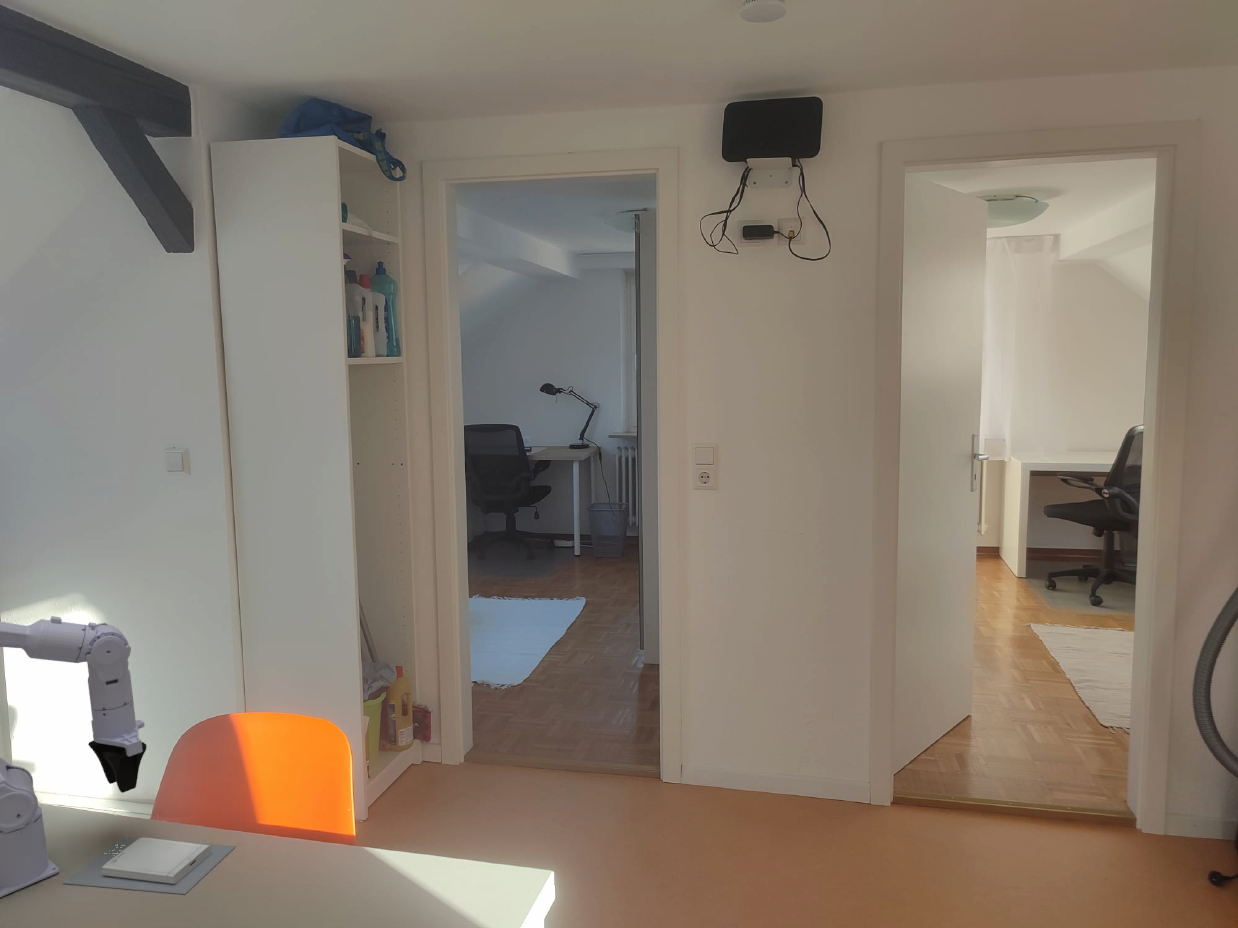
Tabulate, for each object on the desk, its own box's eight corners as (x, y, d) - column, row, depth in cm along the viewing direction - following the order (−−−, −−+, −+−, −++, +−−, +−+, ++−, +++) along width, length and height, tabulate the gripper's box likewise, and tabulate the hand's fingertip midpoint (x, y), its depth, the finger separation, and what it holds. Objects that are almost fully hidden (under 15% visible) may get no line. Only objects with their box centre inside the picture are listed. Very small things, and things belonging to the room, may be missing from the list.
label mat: (63, 883, 129) (63, 882, 129) (122, 837, 141) (122, 836, 141) (185, 894, 125) (185, 893, 125) (235, 846, 137) (235, 845, 137)
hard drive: (100, 866, 130) (173, 874, 127) (142, 835, 138) (211, 842, 135) (102, 876, 130) (174, 885, 127) (143, 845, 138) (212, 852, 135)
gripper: (158, 705, 135) (168, 788, 137) (121, 684, 144) (130, 762, 146) (109, 721, 130) (119, 807, 131) (73, 698, 139) (83, 779, 141)
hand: (122, 785), depth 138 cm, fingers open, 4 cm apart
